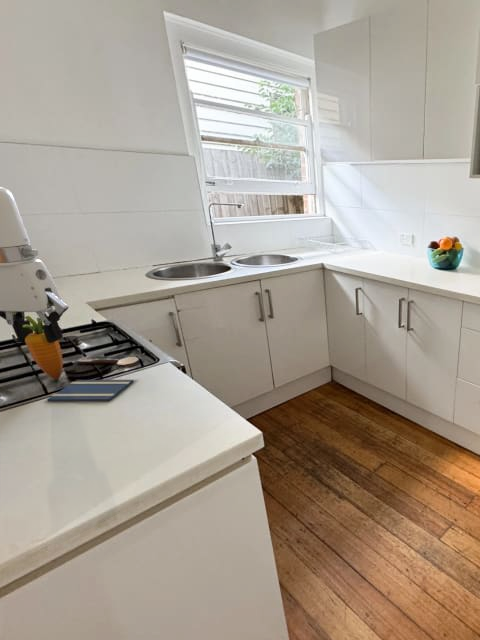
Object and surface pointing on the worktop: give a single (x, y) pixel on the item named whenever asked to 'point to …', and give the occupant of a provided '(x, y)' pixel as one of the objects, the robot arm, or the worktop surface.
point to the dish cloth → (91, 390)
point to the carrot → (44, 350)
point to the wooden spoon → (112, 361)
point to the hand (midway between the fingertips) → (41, 339)
